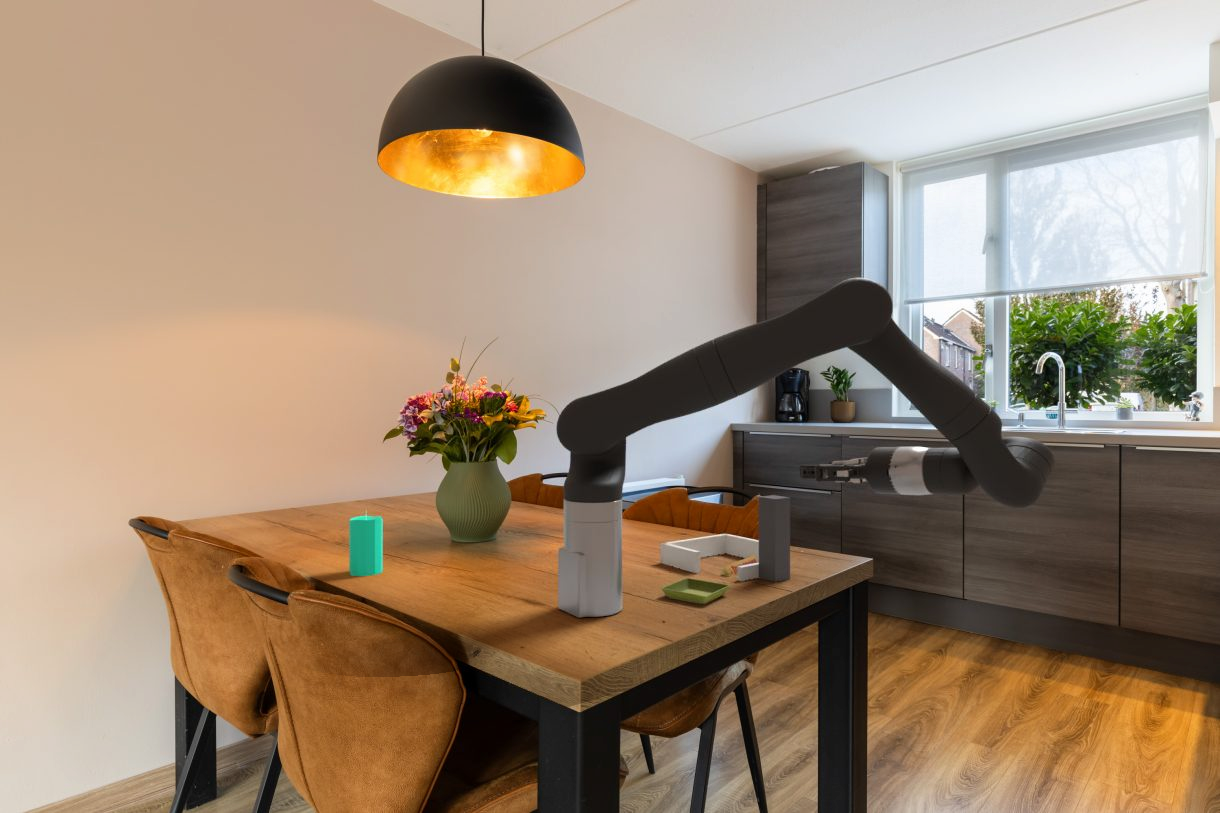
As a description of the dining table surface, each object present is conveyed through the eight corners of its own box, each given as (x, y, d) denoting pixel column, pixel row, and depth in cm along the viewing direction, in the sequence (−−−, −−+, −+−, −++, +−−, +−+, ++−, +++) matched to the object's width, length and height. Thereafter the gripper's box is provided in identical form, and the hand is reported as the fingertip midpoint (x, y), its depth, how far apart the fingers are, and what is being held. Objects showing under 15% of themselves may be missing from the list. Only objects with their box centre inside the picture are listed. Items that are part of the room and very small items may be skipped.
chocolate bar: (719, 576, 130) (719, 565, 130) (748, 565, 140) (748, 554, 140) (731, 578, 129) (731, 566, 129) (760, 567, 138) (760, 555, 138)
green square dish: (705, 609, 109) (706, 596, 109) (659, 600, 114) (659, 587, 115) (731, 597, 116) (731, 585, 116) (686, 589, 121) (686, 577, 121)
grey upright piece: (758, 585, 122) (758, 501, 122) (737, 580, 126) (737, 498, 126) (805, 575, 130) (805, 495, 130) (785, 570, 134) (785, 492, 134)
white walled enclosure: (695, 573, 131) (695, 552, 131) (660, 563, 140) (660, 543, 140) (762, 560, 142) (762, 541, 142) (725, 551, 150) (725, 533, 150)
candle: (372, 576, 129) (372, 512, 129) (343, 575, 130) (343, 511, 130) (388, 569, 135) (388, 507, 135) (359, 568, 136) (359, 507, 136)
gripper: (925, 444, 113) (837, 445, 125) (879, 449, 104) (789, 450, 116) (928, 490, 113) (840, 487, 125) (882, 499, 104) (792, 495, 116)
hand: (815, 469), depth 121 cm, fingers open, 8 cm apart
